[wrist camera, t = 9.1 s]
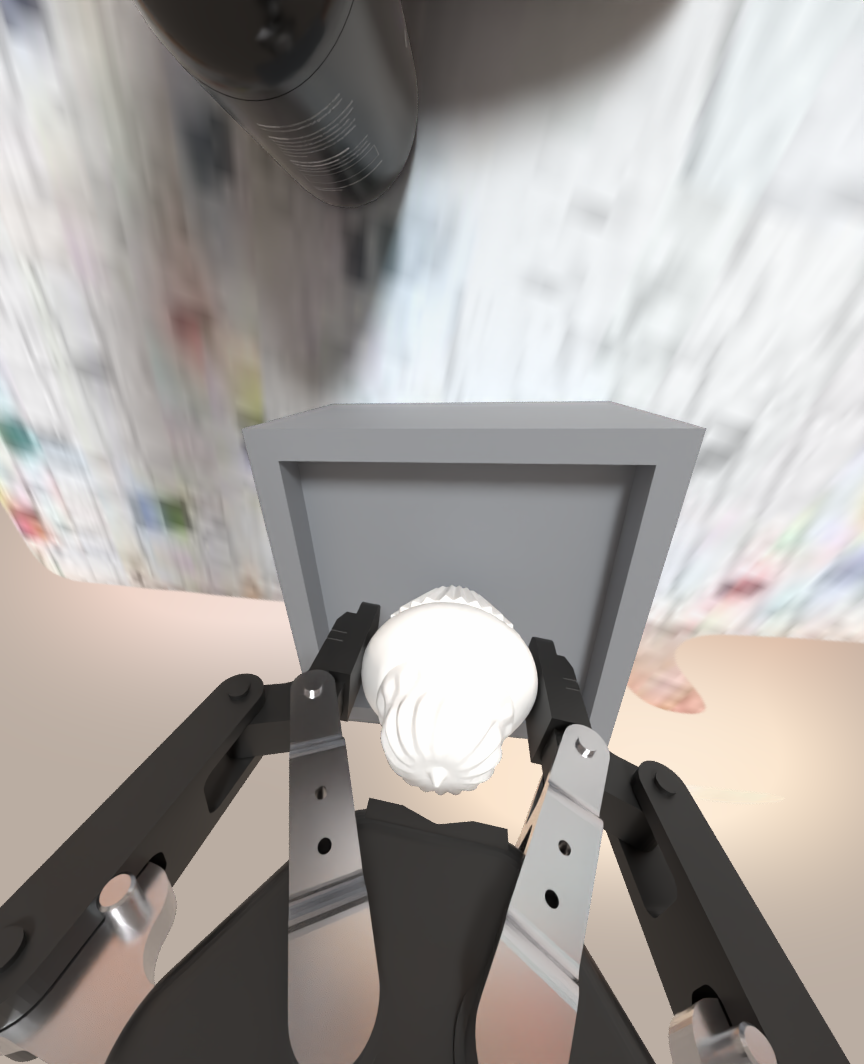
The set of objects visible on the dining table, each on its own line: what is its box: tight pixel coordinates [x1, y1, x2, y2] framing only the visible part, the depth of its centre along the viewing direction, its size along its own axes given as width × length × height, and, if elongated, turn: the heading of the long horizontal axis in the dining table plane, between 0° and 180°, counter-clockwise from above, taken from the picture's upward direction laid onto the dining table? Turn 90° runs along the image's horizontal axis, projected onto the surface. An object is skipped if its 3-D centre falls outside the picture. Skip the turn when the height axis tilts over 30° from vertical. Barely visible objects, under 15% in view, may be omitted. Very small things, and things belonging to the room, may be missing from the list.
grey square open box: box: [242, 401, 706, 747], centre depth 20 cm, size 16×16×9 cm
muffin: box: [361, 585, 538, 795], centre depth 12 cm, size 6×6×7 cm
